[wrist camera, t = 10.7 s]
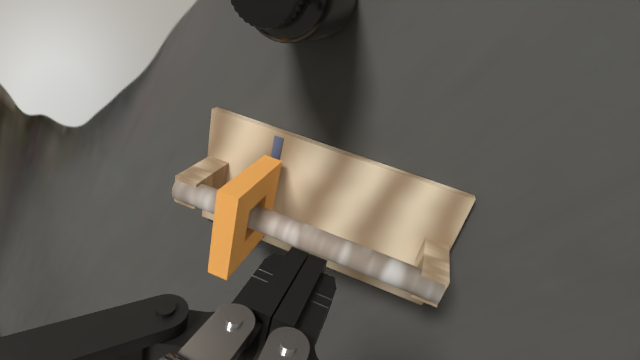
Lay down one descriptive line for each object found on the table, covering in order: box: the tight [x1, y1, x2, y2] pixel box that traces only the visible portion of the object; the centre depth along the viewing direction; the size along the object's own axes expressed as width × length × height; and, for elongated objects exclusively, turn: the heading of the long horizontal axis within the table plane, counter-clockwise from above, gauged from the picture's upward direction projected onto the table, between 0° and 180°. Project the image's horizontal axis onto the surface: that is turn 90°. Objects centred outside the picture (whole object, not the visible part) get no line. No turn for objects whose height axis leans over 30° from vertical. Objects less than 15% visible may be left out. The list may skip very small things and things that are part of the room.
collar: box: [208, 155, 282, 280], centre depth 36 cm, size 2×9×9 cm, turn 166°
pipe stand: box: [172, 107, 475, 307], centre depth 37 cm, size 28×14×8 cm, turn 76°
